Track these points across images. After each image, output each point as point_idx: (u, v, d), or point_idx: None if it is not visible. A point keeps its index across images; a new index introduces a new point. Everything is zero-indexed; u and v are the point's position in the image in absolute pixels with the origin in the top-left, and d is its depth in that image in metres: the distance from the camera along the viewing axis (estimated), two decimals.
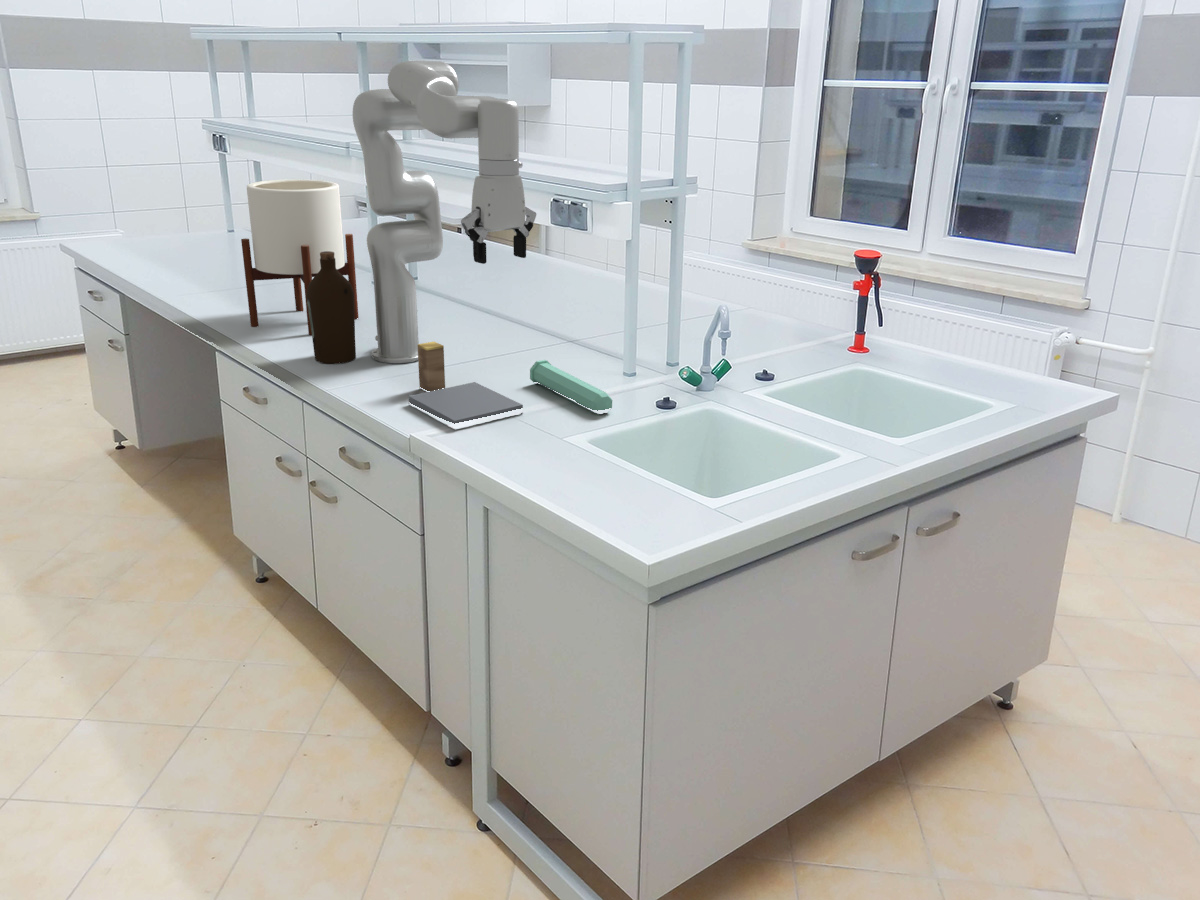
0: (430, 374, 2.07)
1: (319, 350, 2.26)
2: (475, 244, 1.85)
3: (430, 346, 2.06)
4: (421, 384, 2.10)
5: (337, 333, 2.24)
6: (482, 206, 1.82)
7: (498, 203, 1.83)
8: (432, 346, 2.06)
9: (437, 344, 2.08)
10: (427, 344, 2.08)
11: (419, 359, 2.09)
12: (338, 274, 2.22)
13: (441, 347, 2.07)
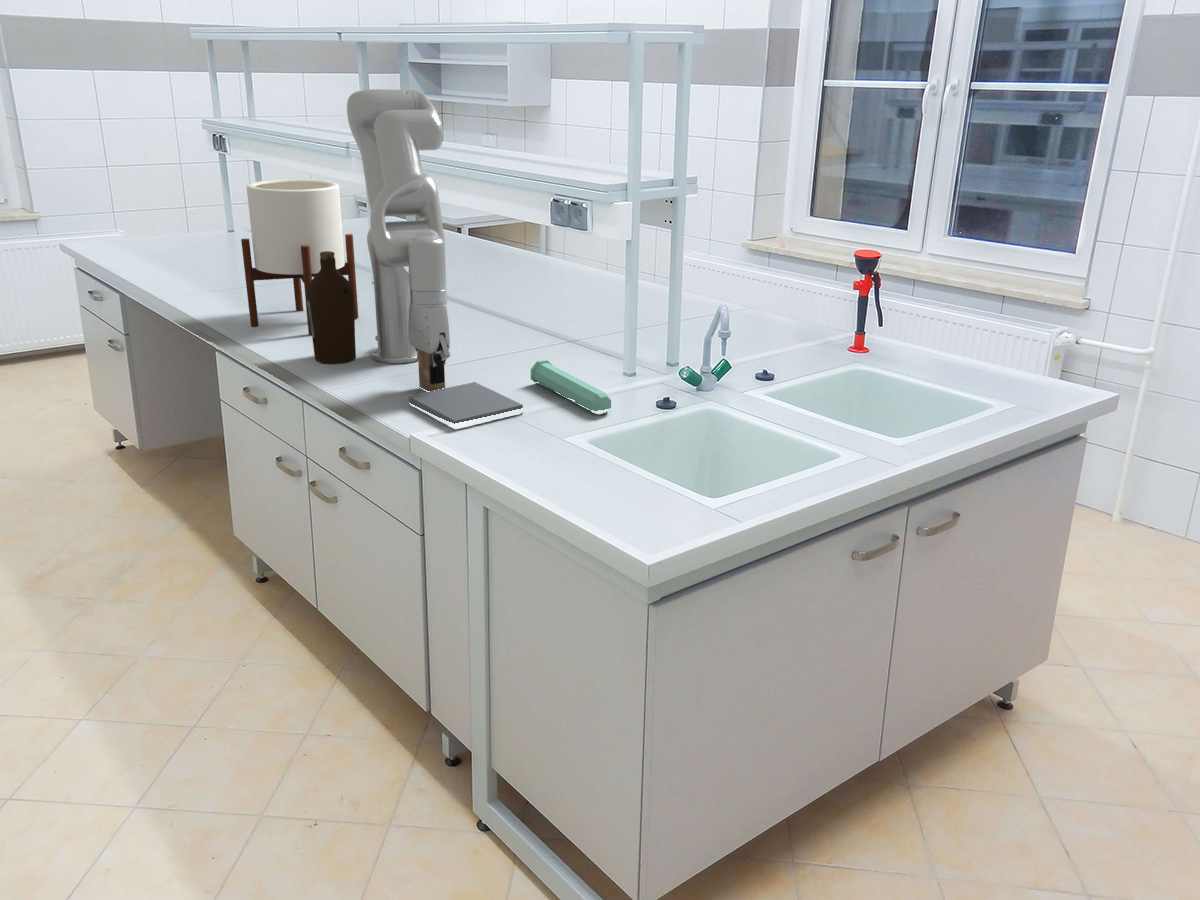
0: None
1: (319, 350, 2.26)
2: (439, 368, 2.07)
3: None
4: (421, 384, 2.10)
5: (337, 333, 2.24)
6: (446, 331, 2.03)
7: None
8: None
9: None
10: None
11: (419, 359, 2.09)
12: (338, 274, 2.22)
13: None
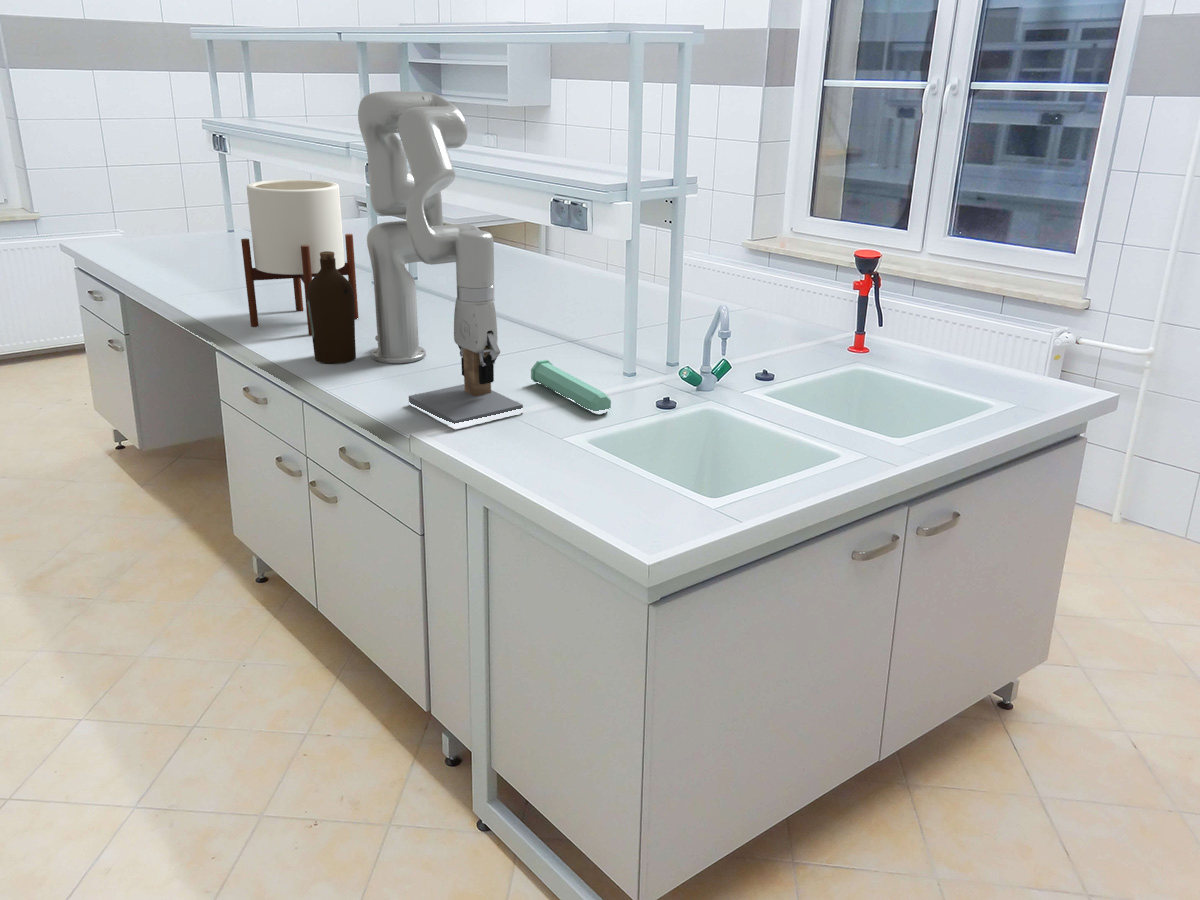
0: (476, 376, 2.00)
1: (319, 350, 2.26)
2: (488, 367, 1.99)
3: None
4: (466, 386, 2.03)
5: (337, 333, 2.24)
6: (494, 329, 1.96)
7: None
8: None
9: None
10: None
11: (465, 360, 2.02)
12: (338, 274, 2.22)
13: None
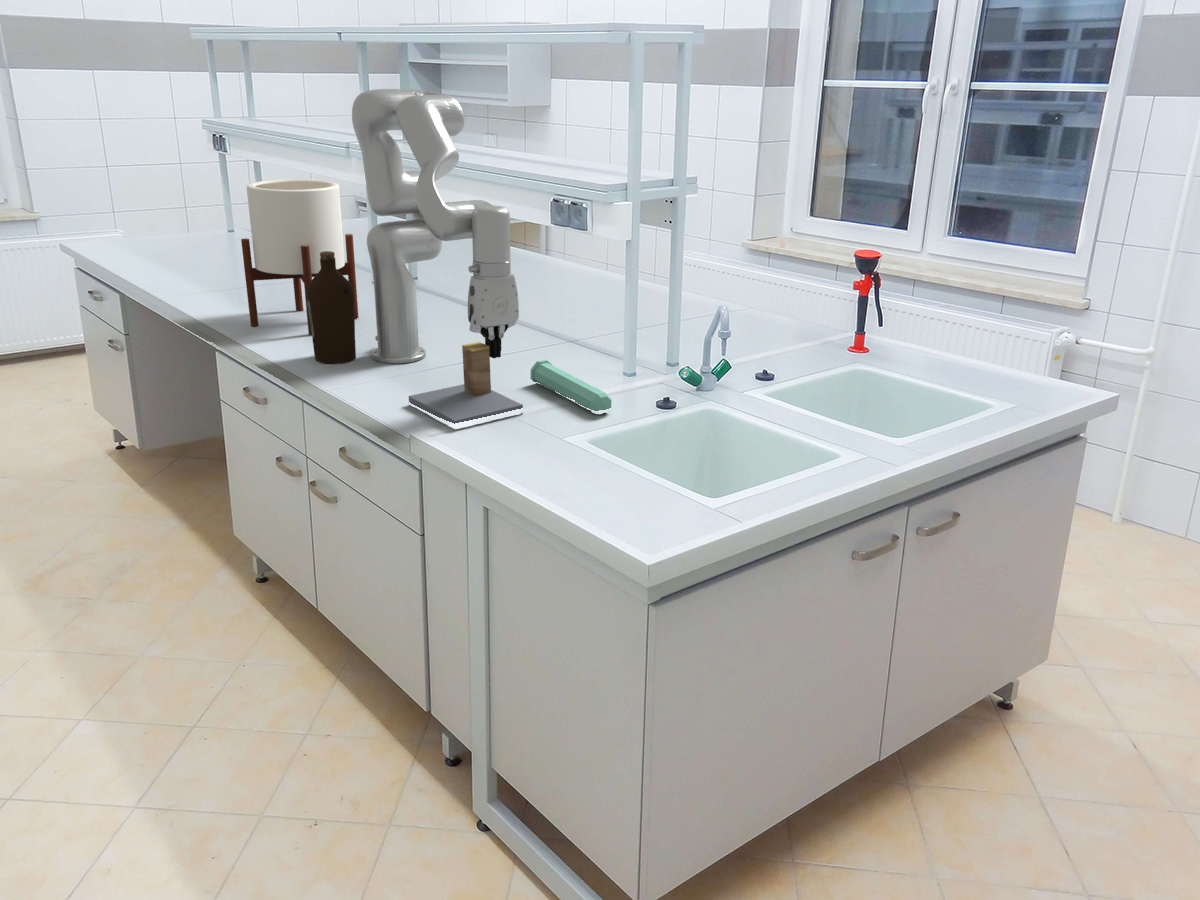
0: (475, 376, 2.00)
1: (319, 350, 2.26)
2: None
3: (475, 347, 1.99)
4: (466, 386, 2.03)
5: (337, 333, 2.24)
6: None
7: None
8: (477, 347, 1.99)
9: (482, 345, 2.01)
10: (472, 345, 2.01)
11: (464, 360, 2.02)
12: (338, 274, 2.22)
13: (487, 348, 2.00)
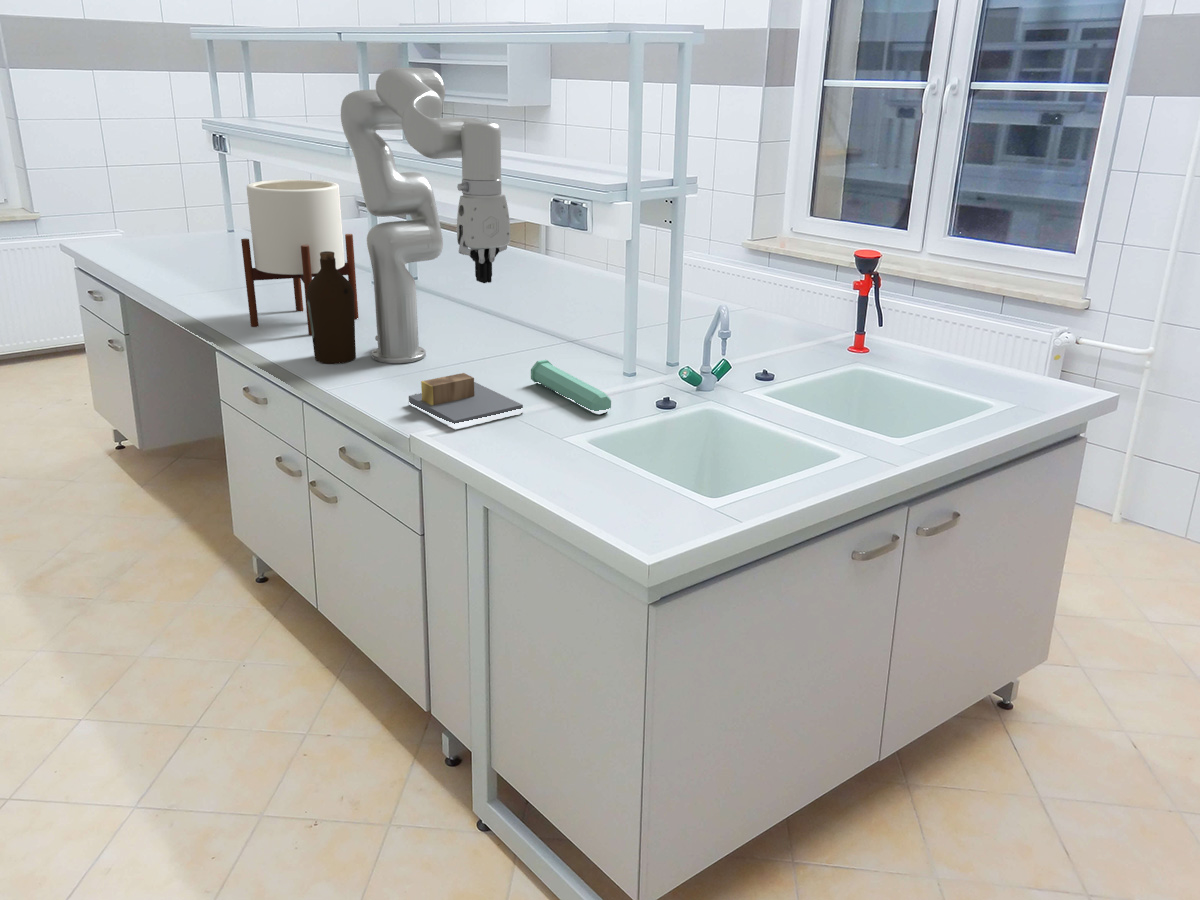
0: (456, 397, 1.99)
1: (319, 350, 2.26)
2: None
3: (428, 397, 1.96)
4: None
5: (337, 333, 2.24)
6: None
7: None
8: (429, 396, 1.96)
9: (427, 387, 1.96)
10: (424, 393, 1.97)
11: None
12: (338, 274, 2.22)
13: (432, 388, 1.95)
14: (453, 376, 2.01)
